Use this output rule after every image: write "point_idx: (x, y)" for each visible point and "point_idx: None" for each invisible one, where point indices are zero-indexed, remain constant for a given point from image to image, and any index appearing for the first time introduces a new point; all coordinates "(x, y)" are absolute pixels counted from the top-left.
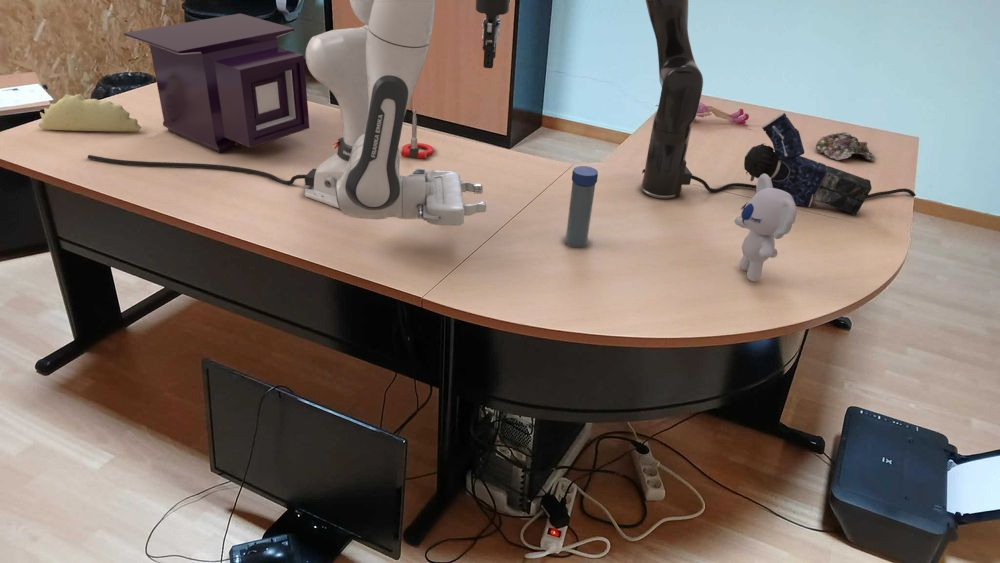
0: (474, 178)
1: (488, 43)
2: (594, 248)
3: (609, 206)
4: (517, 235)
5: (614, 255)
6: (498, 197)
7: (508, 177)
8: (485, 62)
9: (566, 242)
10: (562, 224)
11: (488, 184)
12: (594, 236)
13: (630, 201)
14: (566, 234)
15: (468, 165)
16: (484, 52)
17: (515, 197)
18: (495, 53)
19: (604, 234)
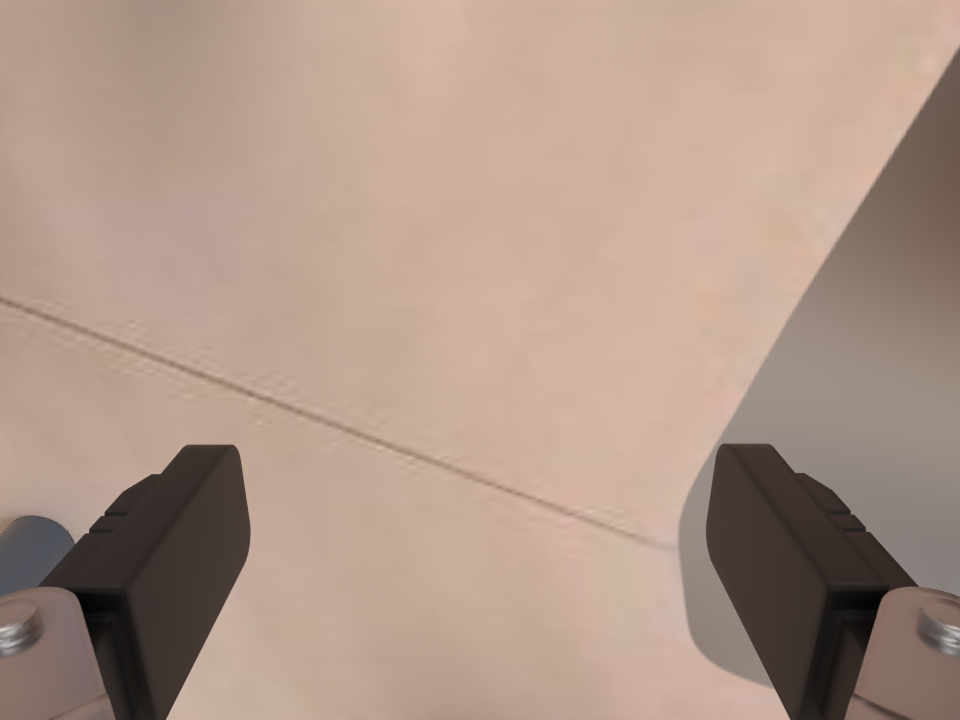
0: (467, 173)
1: (810, 599)
2: None
3: (334, 642)
4: (10, 372)
5: None
6: (300, 289)
7: (506, 319)
8: (110, 509)
9: (14, 521)
10: None
11: (416, 240)
12: None
13: (389, 697)
14: (6, 534)
15: (613, 130)
16: (82, 580)
17: (318, 354)
18: (730, 593)
19: None
